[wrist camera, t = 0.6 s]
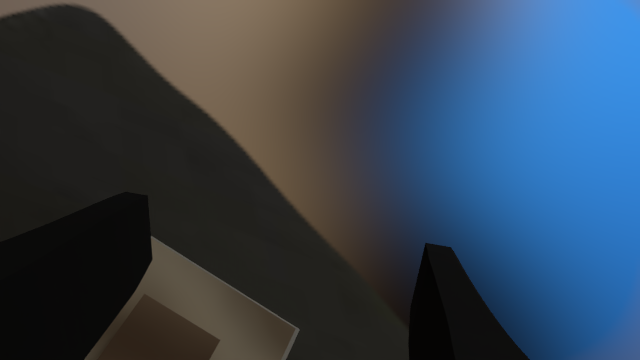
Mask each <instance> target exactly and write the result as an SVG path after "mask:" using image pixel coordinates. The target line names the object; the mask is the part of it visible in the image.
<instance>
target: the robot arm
mask: <svg viewBox="0 0 640 360" xmlns="http://www.w3.org/2000/svg"><path fill="white" fill-rule="evenodd" d="M152 259H153V257H152V245H151V232H150V220H149V208H148V196H147V195H141V194H135V193H129V192H124V193H121V194H118V195H115V196H112V197H110V198H107V199H105V200H103V201H100V202H98V203H95V204H93V205H91V206H89V207H86V208H84V209H82V210H79V211H77V212H75V213H72V214H70V215H68V216H65V217H63V218H61V219H58V220H56V221H54V222H51V223H49V224H46V225H44V226H41V227H39V228H36V229H33V230H31V231H28V232H26V233H23V234H21V235H18V236H16V237H13V238H10V239H8V240H5V241H2V242H0V360H84V359H85V358H86V357H87V355H88V354H89V353H90V351H91V350H92V349H93V347H94V346H95V345H96V343H97V342H98V341H99V339H100V338H101V337H102V335H103V334H104V333H105V331H106V330H107V329H108V327H109V326H110V325H111V323H112V322H113V321H114V319H115V318H116V317H117V315H118V314H119V313H120V311H121V310H122V309H123V307H124V306H125V305H126V303H127V302H128V301H129V299H130V298H131V296H132V295H133V294H134V292H135V291H136V289H137V287H138V286H139V284H140V282H141V280H142V278H143V277H144V275H145V273H146V271H147V269H148V267H149V265H150V263H151V261H152ZM409 360H530V359H528V357H527V356H526V355H525V354H524V353H523V352H522V351H521V349H520V348H519V347H518V346H517V345H516V344H515V343H514V341H513V340H512V339H511V338H510V337H509V335H508V334H507V333H506V331H505V330H504V329H503V328H502V326H501V325H500V324H499V322H498V321H497V320H496V318H495V317H494V316H493V314H492V313H491V311H490V310H489V308H488V307H487V305H486V304H485V302H484V301H483V300H482V298H481V296H480V295H479V293H478V292H477V290H476V289H475V287H474V285H473V284H472V282H471V280H470V279H469V277H468V275H467V274H466V272H465V270H464V269H463V267H462V265H461V263H460V262H459V260H458V258H457V256H456V255H455V253H454V251H453V250H452V248H451V247H446V246H440V245H434V244H428V243H426V244H425V248H424V252H423V256H422V261H421V265H420V269H419V273H418V277H417V282H416V286H415V290H414V295H413V299H412V303H411V310H410V325H409Z"/></svg>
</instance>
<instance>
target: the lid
mask: <svg viewBox="0 0 640 360" xmlns="http://www.w3.org/2000/svg"><path fill="white" fill-rule="evenodd" d="M151 245H152V257H153V259H152V261H151V263H150V265H149V267H148V269H147V271H146V273H145V275H144V277H143V278H142V280H141V282H140V284H139V286H138V287H137V289H136V291H135V292H134V294H133V295H132V296H131V298H130V299H129V301H128V302H127V303H126V305H125V306H124V307H123V309H122V310H121V311H120V313H119V314H118V315H117V317H116V318H115V319H114V321H113V322H112V323H111V325H110V326H109V327H108V329H107V330H106V331H105V333H104V334H103V335H102V337H101V338H100V339H99V341H98V342H97V343H96V345H95V346H94V347H93V349H92V350H91V351H90V353H89V354H88V355H87V357H86V358H85V359H84V360H281V359H282V357H283V355H284V353H285V351H286V348H287V346H288V344H289V342H290V340H291V338H292V336H293V333H294V331H295V328H294V327H292V326H291V325H289V324H287V323H286V322H284V321H283V320H281V319H280V318H278V317H276V316H275V315H273V314H272V313H270V312H268V311H267V310H265V309H264V308H262V307H260V306H259V305H257V304H256V303H254V302H253V301H251V300H249V299H248V298H246V297H245V296H243V295H241V294H240V293H238V292H237V291H235V290H233V289H232V288H230V287H229V286H227V285H225V284H224V283H222V282H221V281H219V280H218V279H216V278H214V277H213V276H211V275H210V274H208V273H206V272H205V271H203V270H202V269H200V268H198V267H197V266H195V265H194V264H192V263H191V262H189V261H187V260H186V259H184V258H183V257H181V256H179V255H178V254H176V253H175V252H173V251H171V250H170V249H168V248H167V247H165V246H164V245H162V244H160V243H159V242H157V241H156V240H154V239H152V238H151Z"/></svg>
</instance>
